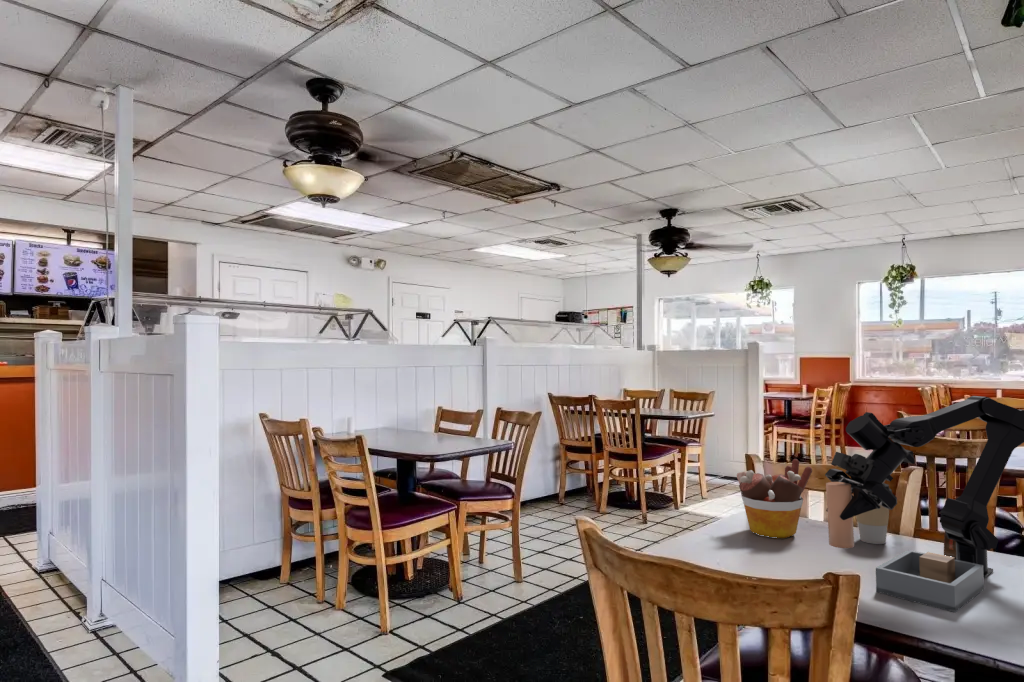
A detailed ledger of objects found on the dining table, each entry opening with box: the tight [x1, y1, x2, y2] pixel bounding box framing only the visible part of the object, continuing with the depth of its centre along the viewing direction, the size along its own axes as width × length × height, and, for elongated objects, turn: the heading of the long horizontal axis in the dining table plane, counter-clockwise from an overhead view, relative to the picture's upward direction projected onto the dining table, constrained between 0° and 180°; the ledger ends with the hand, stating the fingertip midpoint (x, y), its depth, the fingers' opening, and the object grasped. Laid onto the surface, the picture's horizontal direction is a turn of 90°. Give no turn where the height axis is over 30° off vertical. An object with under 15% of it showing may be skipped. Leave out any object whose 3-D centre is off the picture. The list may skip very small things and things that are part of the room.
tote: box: [875, 549, 985, 613], centre depth 132 cm, size 18×14×5 cm
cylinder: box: [825, 481, 855, 549], centre depth 141 cm, size 5×5×14 cm
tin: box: [943, 532, 956, 558], centre depth 156 cm, size 15×3×8 cm, turn 141°
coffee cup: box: [855, 482, 893, 545], centre depth 167 cm, size 9×9×15 cm
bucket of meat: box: [736, 458, 813, 539], centre depth 175 cm, size 20×16×20 cm
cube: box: [919, 551, 956, 583], centre depth 135 cm, size 5×5×5 cm
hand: (834, 515), depth 141 cm, fingers closed on cylinder, 5 cm apart
